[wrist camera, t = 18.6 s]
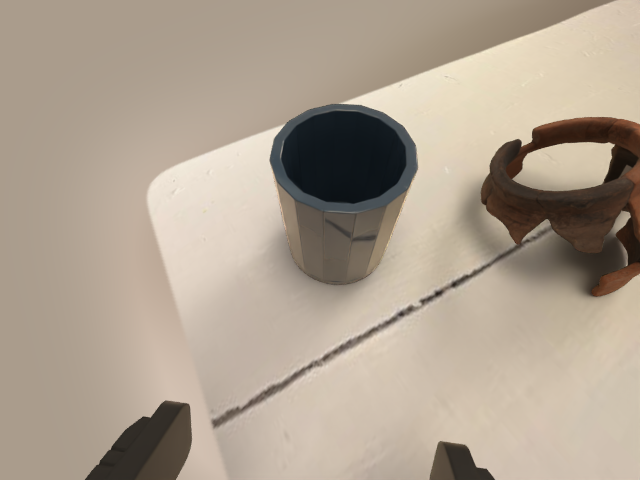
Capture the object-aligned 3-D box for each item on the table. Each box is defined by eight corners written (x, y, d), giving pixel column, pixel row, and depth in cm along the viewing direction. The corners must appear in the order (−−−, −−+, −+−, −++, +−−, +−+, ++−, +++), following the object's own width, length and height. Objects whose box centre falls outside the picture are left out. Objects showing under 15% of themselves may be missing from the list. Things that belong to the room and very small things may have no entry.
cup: (361, 302, 18) (384, 237, 11) (271, 258, 20) (241, 177, 13) (399, 222, 21) (436, 129, 14) (317, 188, 22) (313, 89, 15)
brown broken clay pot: (570, 338, 18) (584, 244, 12) (458, 248, 25) (439, 168, 20) (749, 226, 17) (837, 85, 12) (583, 170, 25) (595, 68, 20)
